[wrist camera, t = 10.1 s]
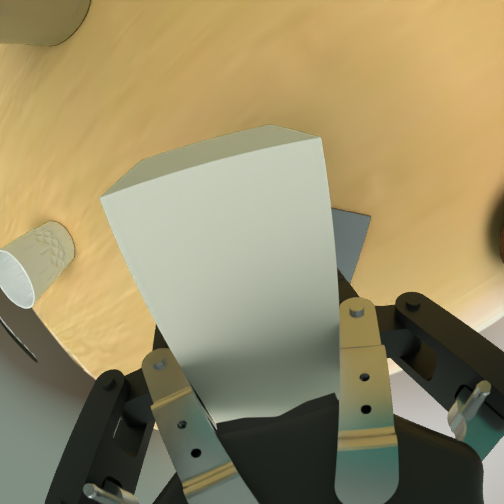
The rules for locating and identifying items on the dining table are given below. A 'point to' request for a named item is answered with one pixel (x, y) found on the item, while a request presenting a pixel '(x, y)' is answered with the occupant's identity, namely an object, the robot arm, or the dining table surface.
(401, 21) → the dining table surface
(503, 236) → the butternut squash
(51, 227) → the white cup
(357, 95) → the dining table surface
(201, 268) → the cream block
